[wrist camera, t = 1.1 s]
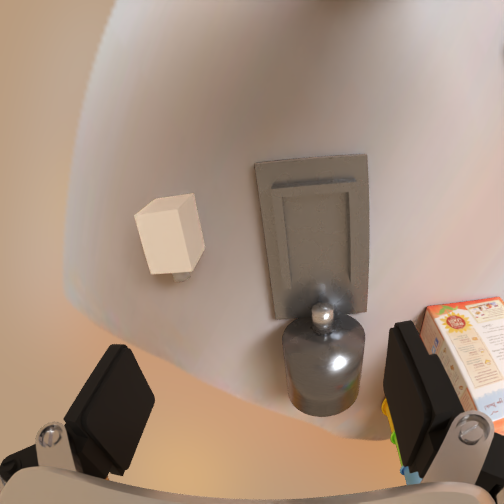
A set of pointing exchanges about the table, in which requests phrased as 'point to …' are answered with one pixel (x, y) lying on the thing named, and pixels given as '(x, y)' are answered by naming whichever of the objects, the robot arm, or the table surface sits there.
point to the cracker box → (471, 352)
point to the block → (171, 235)
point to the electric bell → (318, 272)
